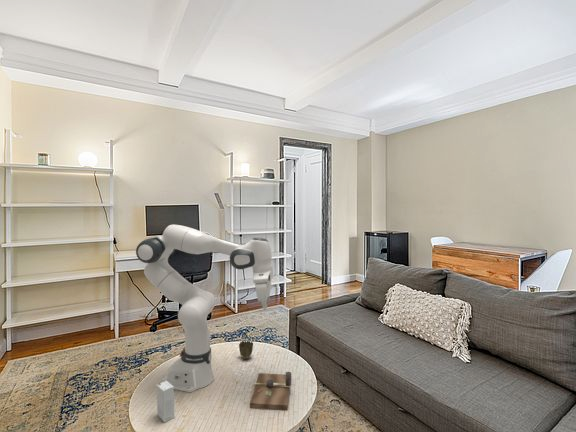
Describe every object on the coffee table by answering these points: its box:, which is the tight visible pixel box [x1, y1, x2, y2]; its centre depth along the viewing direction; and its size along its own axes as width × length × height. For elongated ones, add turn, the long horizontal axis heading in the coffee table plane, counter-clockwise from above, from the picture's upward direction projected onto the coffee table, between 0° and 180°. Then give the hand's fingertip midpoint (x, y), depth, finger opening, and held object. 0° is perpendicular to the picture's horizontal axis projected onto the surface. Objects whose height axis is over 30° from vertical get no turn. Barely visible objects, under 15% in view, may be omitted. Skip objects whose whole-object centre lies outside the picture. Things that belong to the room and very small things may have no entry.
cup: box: [238, 340, 254, 361], centre depth 163 cm, size 8×7×8 cm
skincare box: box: [156, 381, 176, 423], centre depth 118 cm, size 6×4×12 cm
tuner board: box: [249, 372, 291, 411], centre depth 134 cm, size 15×22×2 cm
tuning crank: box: [253, 371, 292, 388], centre depth 135 cm, size 16×3×6 cm, turn 86°
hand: (266, 305), depth 138 cm, fingers open, 8 cm apart
